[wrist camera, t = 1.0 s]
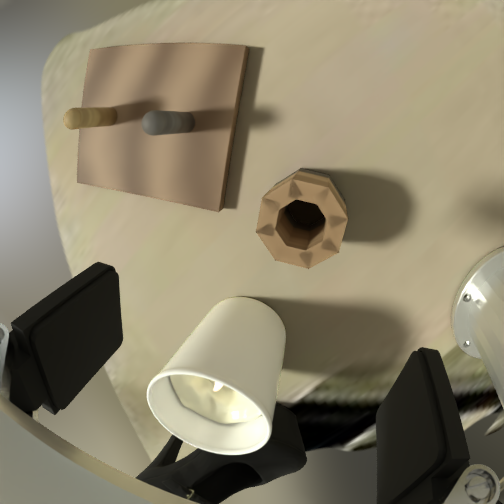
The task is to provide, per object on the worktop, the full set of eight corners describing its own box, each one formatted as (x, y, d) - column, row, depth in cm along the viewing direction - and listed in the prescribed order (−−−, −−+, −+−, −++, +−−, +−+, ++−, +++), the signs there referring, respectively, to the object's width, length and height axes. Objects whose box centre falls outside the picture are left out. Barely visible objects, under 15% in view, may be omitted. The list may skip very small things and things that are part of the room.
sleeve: (349, 179, 24) (354, 193, 19) (332, 244, 26) (332, 275, 21) (280, 163, 25) (266, 173, 20) (268, 228, 27) (251, 254, 22)
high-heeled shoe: (317, 427, 35) (290, 571, 17) (186, 424, 41) (127, 533, 23) (307, 385, 33) (271, 554, 15) (163, 386, 39) (88, 503, 21)
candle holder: (269, 275, 29) (230, 361, 18) (308, 356, 31) (291, 451, 20) (184, 303, 32) (123, 379, 22) (227, 373, 35) (189, 455, 24)
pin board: (249, 49, 22) (220, 24, 16) (223, 208, 28) (189, 234, 21) (97, 51, 24) (48, 42, 18) (84, 180, 30) (36, 196, 24)
